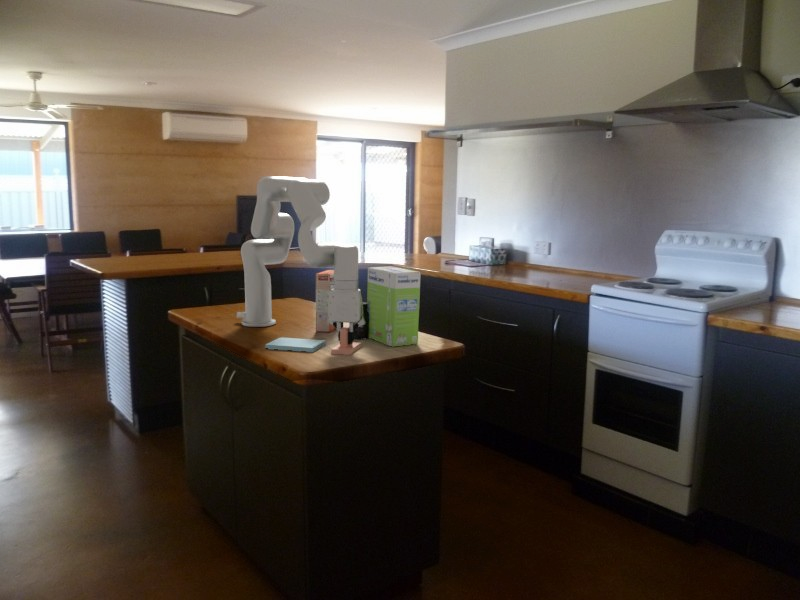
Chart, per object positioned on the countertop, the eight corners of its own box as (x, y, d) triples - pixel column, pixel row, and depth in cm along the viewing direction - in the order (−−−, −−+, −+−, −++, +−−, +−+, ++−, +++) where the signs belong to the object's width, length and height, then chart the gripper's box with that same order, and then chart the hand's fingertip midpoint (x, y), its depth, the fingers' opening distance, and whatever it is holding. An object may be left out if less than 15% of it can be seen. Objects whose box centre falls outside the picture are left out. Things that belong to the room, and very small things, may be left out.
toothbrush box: (420, 344, 213) (421, 270, 209) (393, 347, 207) (394, 272, 203) (391, 334, 227) (391, 265, 223) (365, 337, 222) (365, 267, 218)
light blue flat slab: (265, 348, 204) (265, 344, 204) (280, 341, 215) (280, 337, 214) (313, 352, 200) (312, 347, 200) (325, 344, 211) (325, 340, 210)
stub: (331, 353, 199) (331, 330, 198) (343, 345, 209) (343, 323, 208) (349, 355, 197) (349, 331, 196) (360, 347, 208) (360, 324, 207)
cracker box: (331, 333, 229) (330, 274, 225) (315, 332, 230) (314, 273, 227) (342, 325, 242) (342, 269, 239) (327, 324, 243) (326, 269, 240)
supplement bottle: (355, 340, 217) (355, 305, 215) (347, 336, 223) (347, 302, 221) (373, 338, 220) (373, 303, 218) (365, 334, 226) (365, 300, 224)
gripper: (317, 285, 198) (318, 344, 201) (367, 287, 194) (367, 347, 197) (326, 282, 205) (326, 339, 208) (374, 284, 202) (374, 342, 205)
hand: (346, 343), depth 203 cm, fingers closed on stub, 2 cm apart
